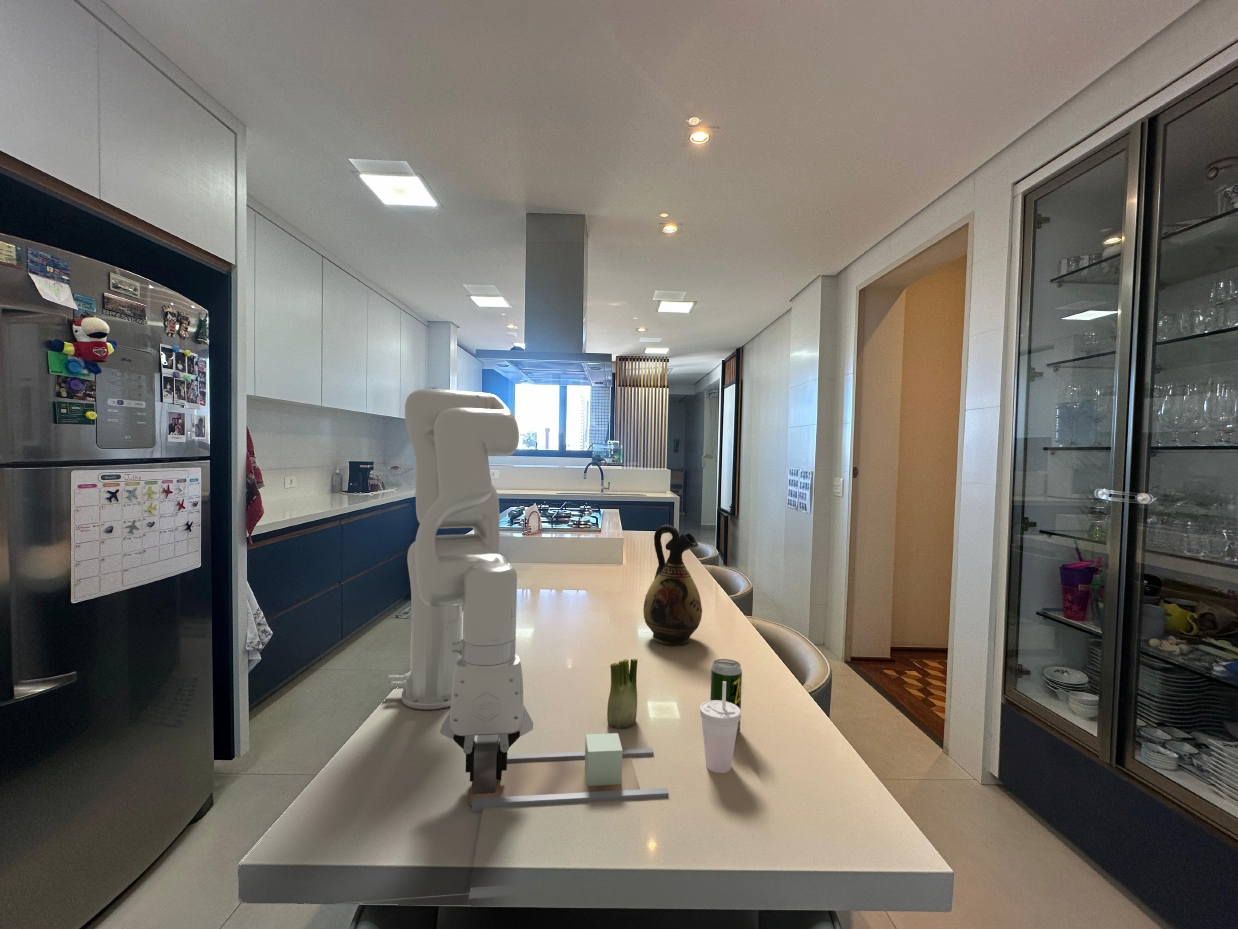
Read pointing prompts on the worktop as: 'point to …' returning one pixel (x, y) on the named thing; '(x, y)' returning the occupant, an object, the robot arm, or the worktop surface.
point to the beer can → (727, 682)
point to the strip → (535, 775)
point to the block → (603, 759)
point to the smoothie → (719, 732)
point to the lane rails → (568, 797)
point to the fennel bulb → (623, 694)
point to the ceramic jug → (672, 592)
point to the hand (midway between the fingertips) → (486, 774)
